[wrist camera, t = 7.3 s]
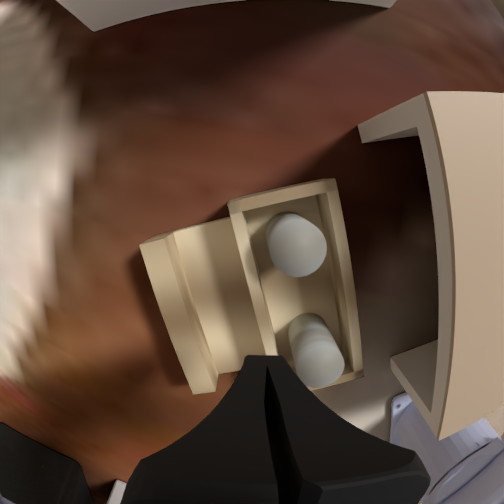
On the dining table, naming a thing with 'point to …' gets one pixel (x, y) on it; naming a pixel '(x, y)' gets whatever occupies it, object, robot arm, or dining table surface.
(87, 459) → the dining table surface
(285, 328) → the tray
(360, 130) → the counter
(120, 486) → the container
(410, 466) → the robot arm
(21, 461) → the flower pot
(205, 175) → the dining table surface
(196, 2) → the gable box
